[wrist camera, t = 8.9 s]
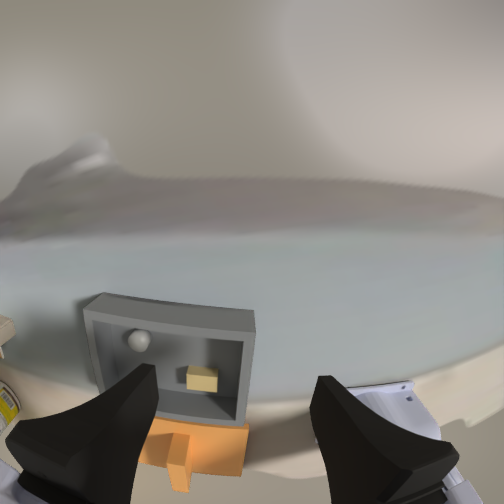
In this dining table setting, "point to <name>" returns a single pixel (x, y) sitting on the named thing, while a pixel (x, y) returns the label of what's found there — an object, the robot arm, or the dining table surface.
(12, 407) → the supplement bottle
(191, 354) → the tub
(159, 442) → the lid
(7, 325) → the architectural model
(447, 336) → the dining table surface
